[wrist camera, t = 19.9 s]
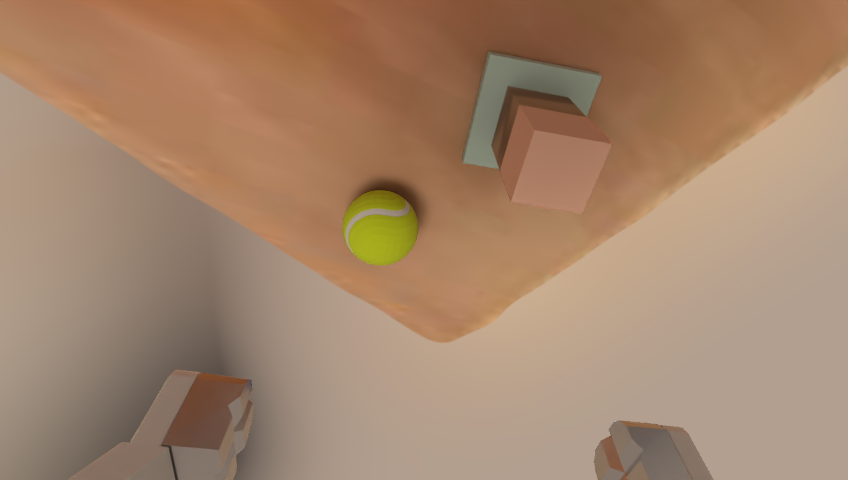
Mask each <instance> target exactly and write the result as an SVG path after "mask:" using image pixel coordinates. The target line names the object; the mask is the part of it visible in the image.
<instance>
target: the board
mask: <svg viewBox="0 0 848 480" xmlns="http://www.w3.org/2000/svg"><path fill="white" fill-rule="evenodd" d="M601 78H602V76H601V75H600V74H599V73H597V72H592V71H587V70H582V69H577V68H572V67H567V66H562V65H557V64H551V63H546V62H541V61H536V60H531V59H526V58H521V57H516V56H511V55H506V54H500V53H495V52H490V51H488V54H487V58H486V62H485V66H484V70H483V74H482V78H481V82H480V86H479V90H478V94H477V98H476V102H475V107H474V111H473V115H472V119H471V123H470V127H469V131H468V135H467V139H466V143H465V147H464V151H463V156H462V160H463V163H466V164H472V165H478V166H484V167H490V168H496V169H499V167H498V164H497V161H496V158H495V155H494V152H493V149H492V146H491V144H492V141H493V137H494V133H495V130H496V126H497V123H498V119H499V115H500V112H501V108H502V105H503V101H504V98H505V94H506V90H507V87H508V86H511V87H516V88H521V89H527V90H532V91H537V92H543V93H548V94H553V95H558V96H564V97H568V98H569V99H570V100H571V101H572V102H573V103H574V104H575V105H576V106H577V107H578V108H579V109H580V110H581V111H582V113H583V114H584V115H585V116H586V117H587V115H588V112H589V109H590V107H591V104H592V102H593V99H594V97H595V94H596V91H597V89H598V86H599V84H600V81H601Z"/></svg>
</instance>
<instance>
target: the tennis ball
mask: <svg viewBox="0 0 848 480" xmlns="http://www.w3.org/2000/svg"><path fill="white" fill-rule="evenodd" d="M342 230H343V236H344V240H345V242H346V245H347V246H348V248H349V250H350V251H351V252H352V253H353V254H354V255H355V256H356V257H358V258H359V259H361V260H362V261H364V262H366V263H369V264H372V265H389V264H392V263H395V262H397V261H399V260H401V259H402V258H403V257H405V256H406V255H407V254H408V253H409V252H410V250H411V249H412V248H413V246H414V244H415V242H416V239H417V234H418V221H417V217H416V214H415V212H414V210H413V208H412V206H411V205H410V204H409V203H408V202H407V201H406V200H405V199H404V198H402V197H401V196H399V195H398V194H396V193H393V192H390V191H385V190H375V191H370V192H367V193H364V194H362V195H361V196H359V197H358V198H356V199H355V200H354V201H353V202H352V203H351V204H350V206H349V207H348V209H347V211H346V213H345V216H344V219H343V228H342Z"/></svg>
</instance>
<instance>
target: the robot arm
mask: <svg viewBox="0 0 848 480" xmlns="http://www.w3.org/2000/svg"><path fill="white" fill-rule="evenodd" d="M251 392H252V381H251V380H250V379H243V378H236V377H229V376H220V375H214V374H206V373H200V372H191V371H183V370H175V371H174V372H173V373H172V374H171V375H170V376H169V377H168V378H167V380H166V382H165V384H164V385H163V387H162V389H161V390H160V392H159V394H158V396H157V397H156V399H155V401H154V402H153V404H152V406H151V408H150V409H149V411H148V413H147V414H146V416H145V418H144V419H143V421H142V423H141V425H140V426H139V428H138V430H137V431H136V433H135V435H134V436H133V438H132V440H131V442H130V443H123V442H121V443H120V444H119V445H117V446H116V447H114V448H113V449H111V450H110V451H109V452H107V453H106V454H104V455H103V456H101V457H100V458H98V459H97V460H96V461H94V462H93V463H91V464H90V465H88V466H87V467H86V468H84V469H83V470H81V471H80V472H78V473H77V474H75V475H74V476H72V477H71V478H70V479H68V480H233V478H234V475H235V473H236V469H237V465H236V455H237V454H238V453H239V452H240V451H241V450H242V449H244V446H245V444H246V441H247V438H248V435H249V431H250V427H251V422H252V415H253V403H252V402H251V401H250V400H249V397H250V395H251ZM609 432H610V434H611V436H609V437H607V438H605V439H603V440H602V441H601V442H600V443H599V445H598V446H597V448H596V450H595V459H594V463H595V471H596V474H597V478H598V480H713V478H712V476H711V474H710V473H709V471H708V469H707V467H706V465H705V463H704V462H703V460H702V458H701V456H700V454H699V452H698V451H697V449H696V447H695V445H694V443H693V441H692V440H691V438H690V436H689V434H688V433H687V432H686V431H685V430H684V429H683V428H680V427H673V426H662V425H658V424H650V423H639V422H629V421H617V422H614V423H613V424H612V425H611V427H610V428H609Z"/></svg>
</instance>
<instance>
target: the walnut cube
mask: <svg viewBox="0 0 848 480" xmlns="http://www.w3.org/2000/svg"><path fill="white" fill-rule="evenodd" d="M519 105H523V106H529V107H534V108H539V109H545V110H550V111H556V112H561V113H567V114H572V115H577V116H583V117H586V116H585V115H584V114H583V113H582V111H581V110H580V109H579V108H578V107H577V106H576V105H575V104H574V103H573V102H572V101H571V100H570V99H569V98H568V97H564V96H558V95H553V94H548V93H543V92H537V91H532V90H527V89H521V88H516V87H511V86H508V87H507V90H506V94H505V98H504V101H503V105H502V108H501V112H500V115H499V119H498V123H497V126H496V130H495V133H494V137H493V141H492V144H491V146H492V149H493V152H494V155H495V158H496V161H497V164H498V167H499V170H500V168H501V165H502V161H503V158H504V155H505V151H506V148H507V145H508V141H509V138H510V135H511V131H512V128H513V125H514V121H515V118H516V115H517V111H518V108H519Z"/></svg>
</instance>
